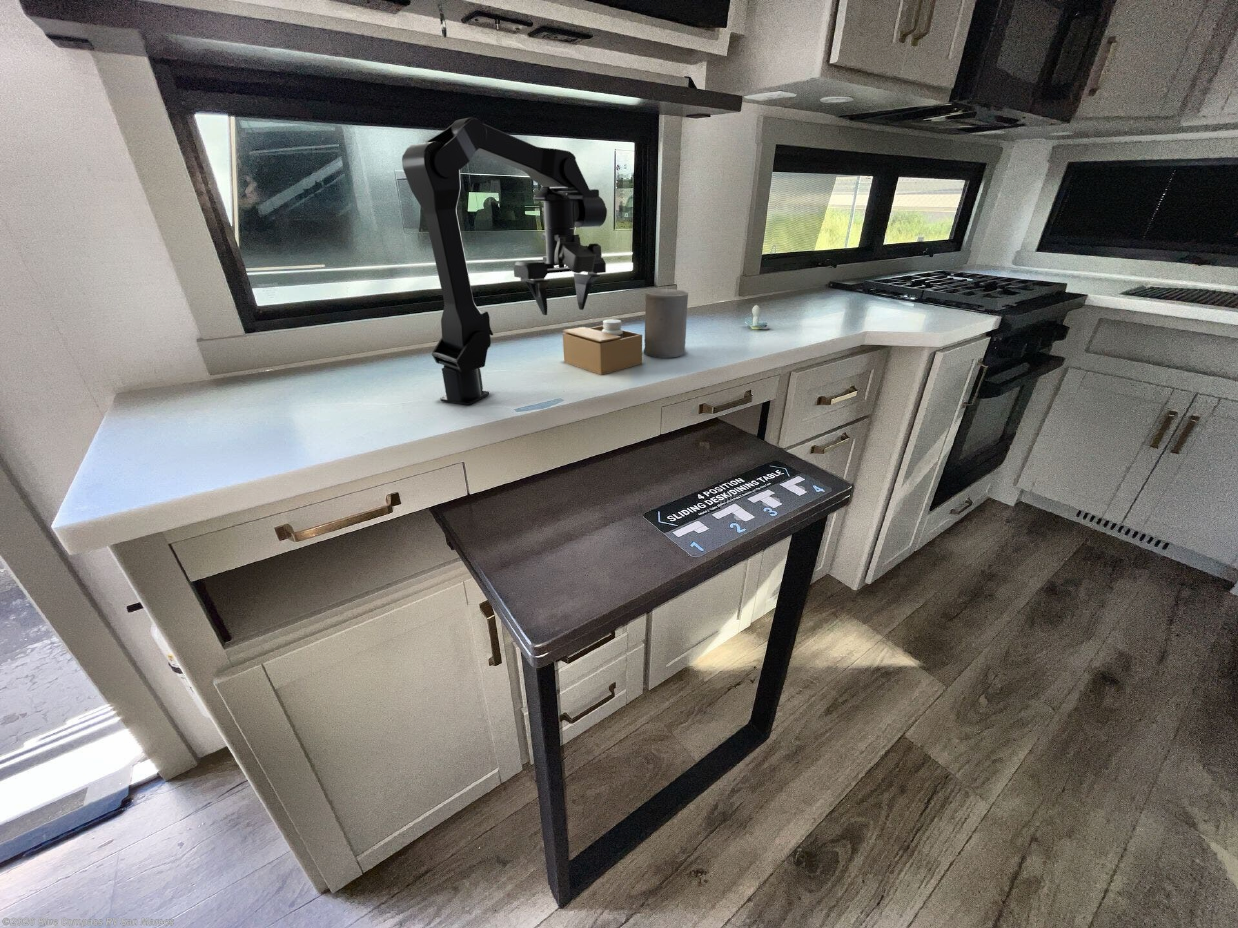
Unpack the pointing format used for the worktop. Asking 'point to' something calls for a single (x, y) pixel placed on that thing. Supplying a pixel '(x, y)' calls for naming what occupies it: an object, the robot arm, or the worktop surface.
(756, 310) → the pacifier
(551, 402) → the worktop surface
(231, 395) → the worktop surface
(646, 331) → the pillar candle
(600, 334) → the flap
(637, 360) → the carton
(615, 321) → the pill bottle
